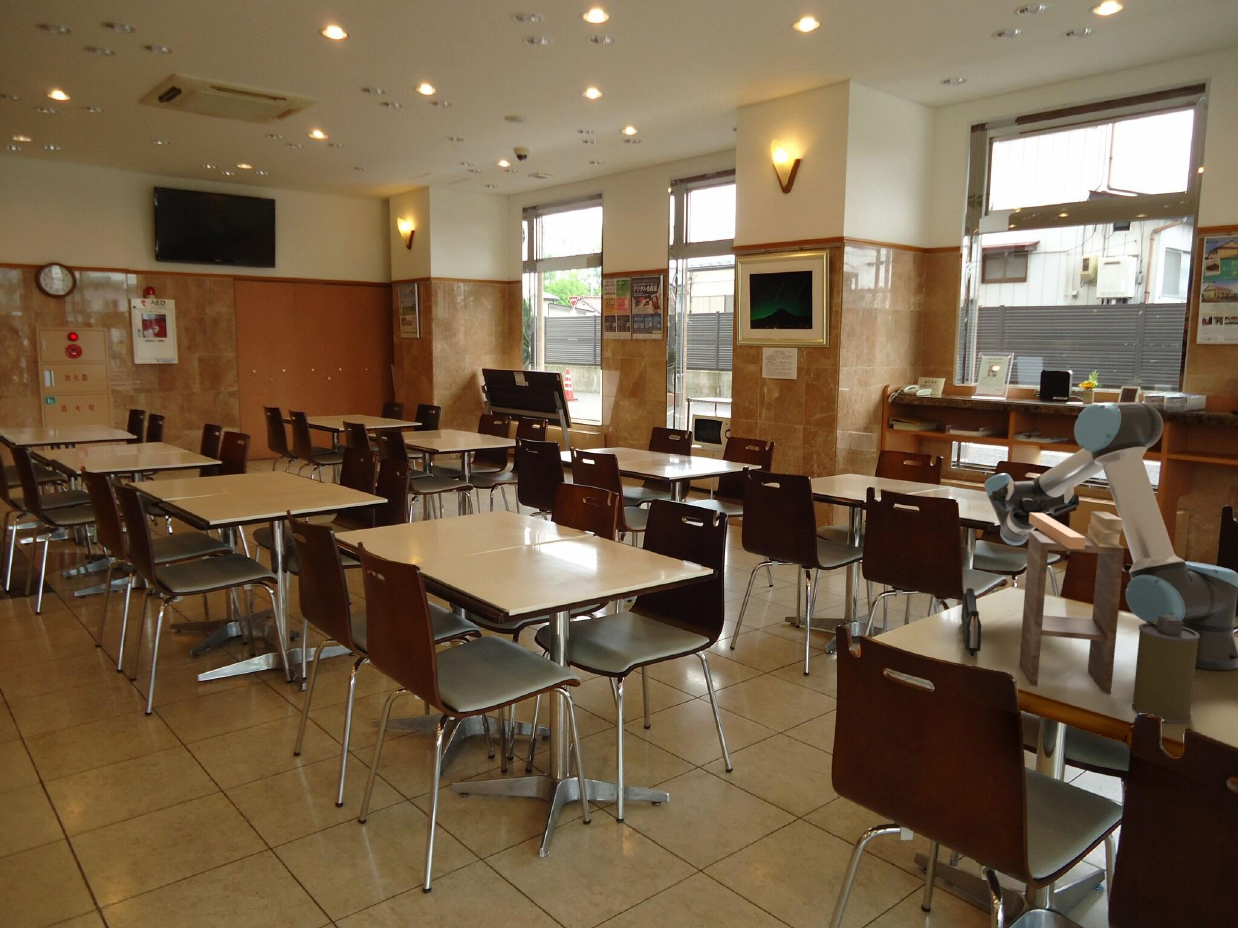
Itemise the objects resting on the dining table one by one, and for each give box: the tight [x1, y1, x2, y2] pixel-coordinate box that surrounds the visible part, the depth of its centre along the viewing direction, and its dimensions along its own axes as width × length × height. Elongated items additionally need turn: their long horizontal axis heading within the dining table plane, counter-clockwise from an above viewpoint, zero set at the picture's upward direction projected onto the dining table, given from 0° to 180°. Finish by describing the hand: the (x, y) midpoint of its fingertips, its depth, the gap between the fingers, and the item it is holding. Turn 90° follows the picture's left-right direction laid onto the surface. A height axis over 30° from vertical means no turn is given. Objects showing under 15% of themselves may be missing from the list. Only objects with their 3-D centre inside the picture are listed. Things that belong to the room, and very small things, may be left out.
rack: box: [1018, 510, 1125, 695], centre depth 195 cm, size 16×14×38 cm
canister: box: [1131, 616, 1200, 724], centre depth 178 cm, size 11×10×20 cm
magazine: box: [960, 587, 982, 657], centre depth 223 cm, size 17×3×30 cm
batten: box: [1029, 513, 1085, 549], centre depth 197 cm, size 28×3×2 cm, turn 171°
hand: (1041, 487), depth 216 cm, fingers open, 13 cm apart
